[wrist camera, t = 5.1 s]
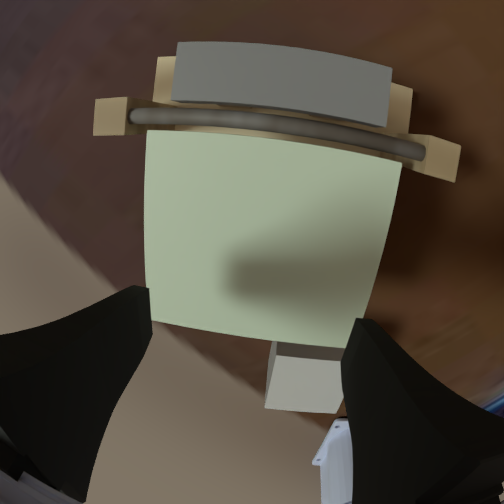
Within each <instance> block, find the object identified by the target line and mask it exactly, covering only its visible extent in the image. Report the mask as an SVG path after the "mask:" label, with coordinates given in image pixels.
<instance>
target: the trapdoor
mask: <svg viewBox="0 0 504 504" xmlns="http://www.w3.org/2000/svg"><path fill="white" fill-rule="evenodd" d="M391 78H392V68H390V67H387V66H383V65H379V64H376V63H372V62H368V61H364V60H360V59H355V58H351V57H346V56H342V55H337V54H332V53H326V52H321V51H315V50H309V49H302V48H295V47H287V46H278V45H268V44H256V43H240V42H178V47H177V53H176V60H175V68H174V75H173V83H172V92H171V100H172V101H176V102H180V103H195V104H217V105H232V106H245V107H255V108H265V109H274V110H282V111H289V112H296V113H303V114H309V115H315V116H321V117H327V118H332V119H338V120H343V121H348V122H353V123H357V124H362V125H366V126H371V127H375V128H378V127H386V124H387V116H388V108H389V99H390V89H391ZM401 167H402V163H400V162H397V161H393V160H389V159H385V158H380V157H376V156H371V155H367V154H362V153H357V152H352V151H347V150H342V149H337V148H331V147H326V146H320V145H314V144H307V143H301V142H294V141H287V140H280V139H272V138H264V137H255V136H246V135H235V134H224V133H211V132H195V131H173V130H147V142H146V160H145V187H144V246H145V274H146V288H149V292H150V308H151V320H155V321H160V322H164V323H169V324H174V325H180V326H185V327H190V328H196V329H201V330H207V331H213V332H218V333H225V334H231V335H237V336H244V337H251V338H258V339H265V340H273V341H280V342H289V343H297V344H306V345H316V346H326V347H338V348H346V345H347V342H348V339H349V337H350V334H351V331H352V328H353V325H354V322H355V319H356V318H363V316H364V313H365V310H366V307H367V304H368V301H369V298H370V294H371V291H372V288H373V285H374V281H375V278H376V274H377V271H378V267H379V264H380V260H381V257H382V253H383V249H384V245H385V241H386V237H387V233H388V229H389V225H390V221H391V217H392V212H393V208H394V203H395V198H396V194H397V189H398V183H399V178H400V173H401Z"/></svg>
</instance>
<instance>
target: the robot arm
mask: <svg viewBox="0 0 504 504" xmlns="http://www.w3.org/2000/svg"><path fill="white" fill-rule="evenodd" d="M152 334H153V333H152V321H151V308H150V292H149V288H146V287H141V286H136V285H133V286H130V287H128V288H126V289H123V290H121V291H119V292H117V293H115V294H113V295H111V296H109V297H107V298H105V299H103V300H101V301H99V302H97V303H95V304H93V305H91V306H89V307H87V308H84V309H82V310H80V311H78V312H75V313H73V314H71V315H69V316H66V317H64V318H61V319H59V320H56V321H53V322H50V323H47V324H44V325H41V326H38V327H34V328H31V329H26V330H22V331H18V332H14V333H9V334H3V335H0V504H83V503H84V502H86V497H87V492H88V487H89V483H90V478H91V474H92V470H93V467H94V463H95V460H96V457H97V453H98V449H99V447H100V444H101V441H102V438H103V435H104V432H105V430H106V427H107V425H108V422H109V420H110V417H111V415H112V412H113V410H114V408H115V406H116V404H117V402H118V400H119V398H120V396H121V395H122V393H123V391H124V389H125V388H126V386H127V384H128V383H129V381H130V379H131V378H132V376H133V374H134V372H135V371H136V369H137V367H138V365H139V364H140V362H141V360H142V358H143V357H144V354H145V352H146V349H147V347H148V345H149V342H150V340H151V337H152ZM340 365H341V383H342V391H343V396H344V401H345V407H346V412H347V417H348V419H347V418H338V419H336V420H335V421H334V422H333V424H332V426H331V428H330V430H329V432H328V434H327V436H326V438H325V439H324V441H323V443H322V445H321V447H320V448H319V450H318V452H317V454H316V456H315V457H314V459H313V461H312V464H313V465H320V469H321V470H320V471H321V502H322V504H504V500H503V501H502V502H500V499H499V496H498V495H500V494H502V493H503V491H504V489H503V486H502V482H503V481H504V418H501V417H499V416H497V415H495V414H492V413H490V412H488V411H486V410H484V409H482V408H480V407H478V406H476V405H475V404H473V403H471V402H469V401H468V400H466V399H464V398H463V397H461V396H460V395H458V394H456V393H455V392H453V391H452V390H450V389H449V388H448V387H446V386H445V385H444V384H442V383H441V382H440V381H438V380H437V379H436V378H434V377H433V376H432V375H431V374H429V373H428V372H427V371H426V370H425V369H424V368H423V367H421V366H420V365H419V364H418V363H417V362H416V361H415V360H414V359H413V358H412V357H410V356H409V355H408V354H407V353H406V352H405V351H404V350H403V349H402V348H401V347H400V346H399V345H398V344H397V343H396V342H395V341H394V340H393V339H392V338H391V337H390V336H389V335H388V334H387V333H386V332H385V331H384V330H383V329H382V328H381V327H380V326H379V325H378V324H377V323H376V322H375V321H374V320H372V319H364V318H356V319H355V322H354V325H353V328H352V331H351V334H350V337H349V339H348V342H347V345H346V348H345V351H344V353H343V356H342V359H341V362H340Z"/></svg>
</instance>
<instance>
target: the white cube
mask: <svg viewBox="0 0 504 504" xmlns="http://www.w3.org/2000/svg"><path fill="white" fill-rule="evenodd" d="M344 351H345V348H338V347H326V346H316V345H306V344H297V343H289V342H280V341H273V340H272V345H271V351H270V356H269V361H268V372H267V384H266V396H265V408H269V409H279V410H289V411H301V412H316V413H336V412H337V410H338V408H339V406H340V404H341V402H342V399H343V397H344V396H343V391H342V383H341V365H340V362H341V359H342V356H343V353H344Z"/></svg>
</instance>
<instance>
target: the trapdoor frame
mask: <svg viewBox="0 0 504 504" xmlns="http://www.w3.org/2000/svg"><path fill="white" fill-rule="evenodd" d="M175 60H176V56H172V57H158V62H157V69H156V77H155V85H154V94H153V101H148V100H142V99H137V98H131V97H119V98H105V99H96V102H95V114H94V129H93V136H96V135H132V134H147V130H173V131H195V132H211V133H224V134H235V135H246V136H255V137H264V138H272V139H280V140H287V141H294V142H301V143H307V144H314V145H320V146H326V147H331V148H337V149H342V150H347V151H352V152H357V153H362V154H367V155H371V156H376V157H380V158H385V159H389V160H393V161H397V162H400V163H402V167H401V168H403V167H405V168H408V169H411V170H414V171H417V172H420V173H423V174H426V175H430V176H433V177H437V178H441V179H444V180H447V181H451V182H454V183H455V179H456V174H457V168H458V162H459V156H460V150H461V146H460V145H458V144H455V143H452V142H449V141H446V140H443V139H440V138H437V137H434V136H431V135H420V134H408V129H409V121H410V113H411V104H412V93H413V89H411V88H408V87H405V86H401V85H398V84H395V83H391V89H390V99H389V108H388V116H387V124H386V127H378V128H375V127H371V126H366V125H362V124H357V123H353V122H348V121H343V120H338V119H332V118H327V117H321V116H315V115H309V114H303V113H296V112H289V111H282V110H274V109H265V108H255V107H245V106H232V105H217V104H195V103H180V102H176V101H172V100H171V92H172V83H173V75H174V68H175Z"/></svg>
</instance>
